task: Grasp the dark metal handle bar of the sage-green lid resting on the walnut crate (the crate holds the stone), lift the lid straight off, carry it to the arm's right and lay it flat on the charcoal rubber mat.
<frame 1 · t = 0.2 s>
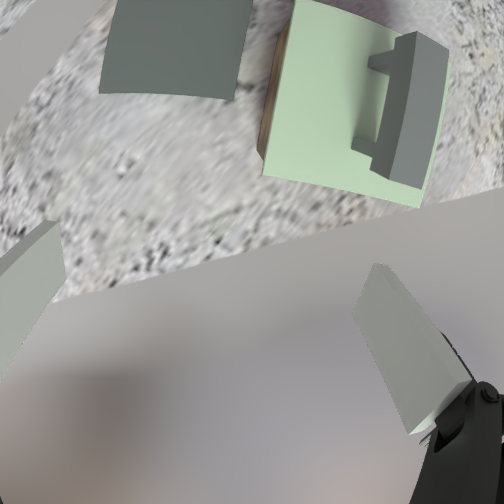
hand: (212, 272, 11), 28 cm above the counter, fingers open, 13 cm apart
crate: (327, 104, 33), on the counter
mat: (174, 30, 27), on the counter
lid: (367, 105, 23), point 12 cm above the counter, touching crate
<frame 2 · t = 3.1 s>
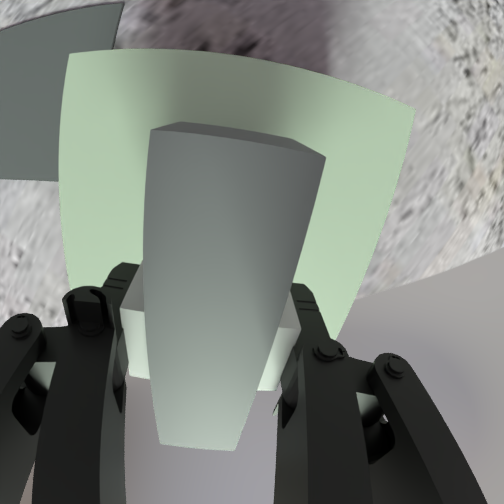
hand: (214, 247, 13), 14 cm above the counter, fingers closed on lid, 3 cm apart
mat: (33, 96, 19), on the counter
lid: (216, 228, 15), point 12 cm above the counter, touching crate, gripper
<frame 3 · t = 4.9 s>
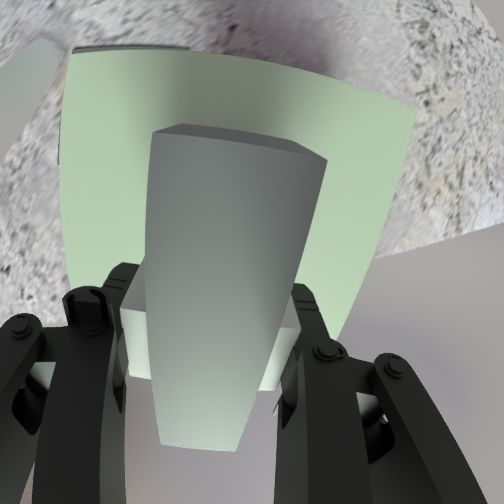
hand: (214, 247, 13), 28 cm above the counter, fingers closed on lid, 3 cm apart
mat: (114, 106, 33), on the counter
lid: (217, 229, 15), point 26 cm above the counter, touching gripper
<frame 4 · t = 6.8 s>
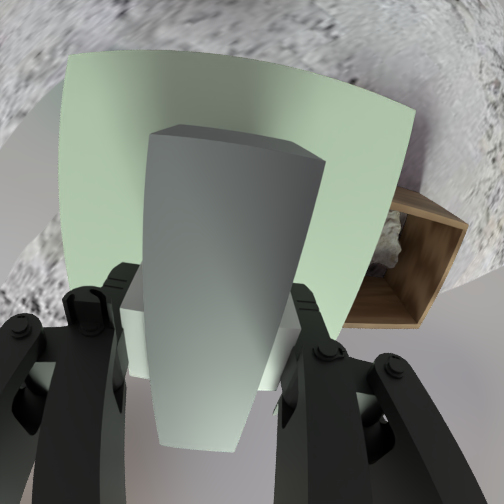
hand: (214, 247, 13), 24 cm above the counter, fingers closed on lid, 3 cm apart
crate: (361, 231, 41), on the counter
stone: (372, 225, 41), resting in crate
lid: (216, 229, 15), point 22 cm above the counter, touching gripper
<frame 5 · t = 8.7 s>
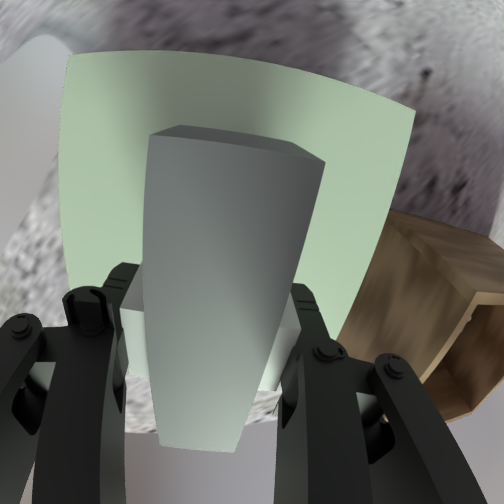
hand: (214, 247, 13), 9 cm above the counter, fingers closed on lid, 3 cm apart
crate: (416, 293, 27), on the counter
lid: (216, 230, 15), point 7 cm above the counter, touching gripper
when the fingers open (4 cm above the counter, at t = 10.3 s): lid drops 1 cm, resting on mat.
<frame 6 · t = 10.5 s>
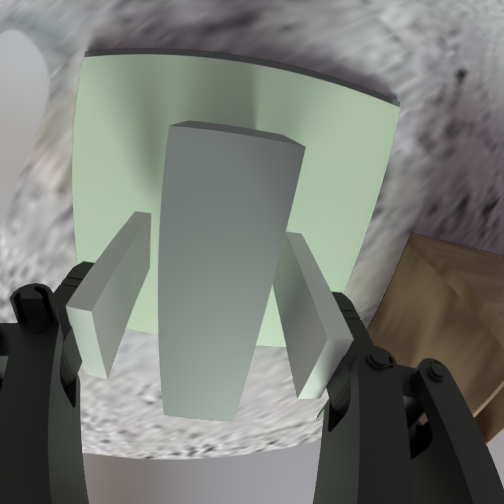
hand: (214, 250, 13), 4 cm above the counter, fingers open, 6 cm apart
crate: (436, 323, 23), on the counter
mat: (218, 215, 17), on the counter
lid: (218, 218, 16), resting on mat
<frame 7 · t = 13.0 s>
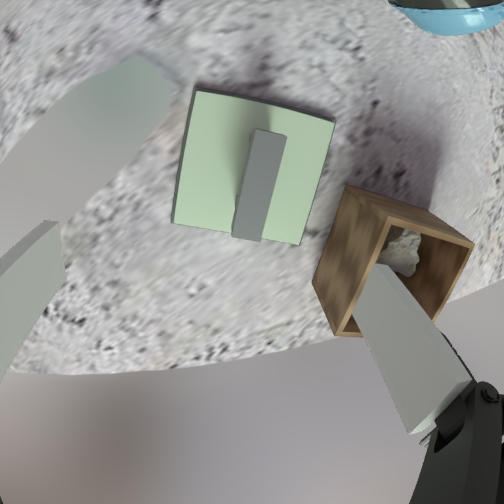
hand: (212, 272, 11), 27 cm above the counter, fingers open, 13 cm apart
crate: (373, 246, 42), on the counter
stone: (391, 236, 42), resting in crate
mat: (251, 169, 36), on the counter
lid: (251, 169, 35), resting on mat
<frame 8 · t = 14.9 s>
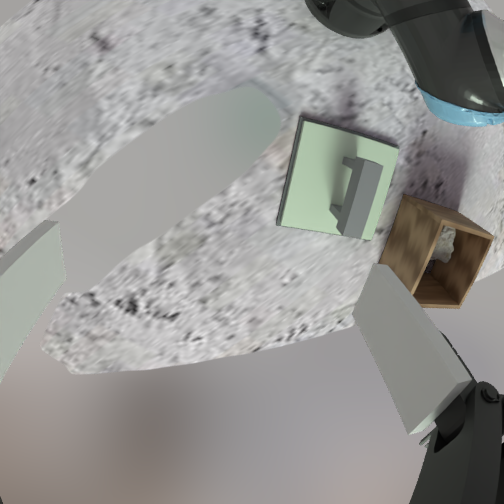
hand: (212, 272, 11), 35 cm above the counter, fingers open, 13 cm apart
crate: (420, 239, 52), on the counter
stone: (432, 232, 51), resting in crate
mat: (340, 183, 45), on the counter
lid: (341, 183, 45), resting on mat
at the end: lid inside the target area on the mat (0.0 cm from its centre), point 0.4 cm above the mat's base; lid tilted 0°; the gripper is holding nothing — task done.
